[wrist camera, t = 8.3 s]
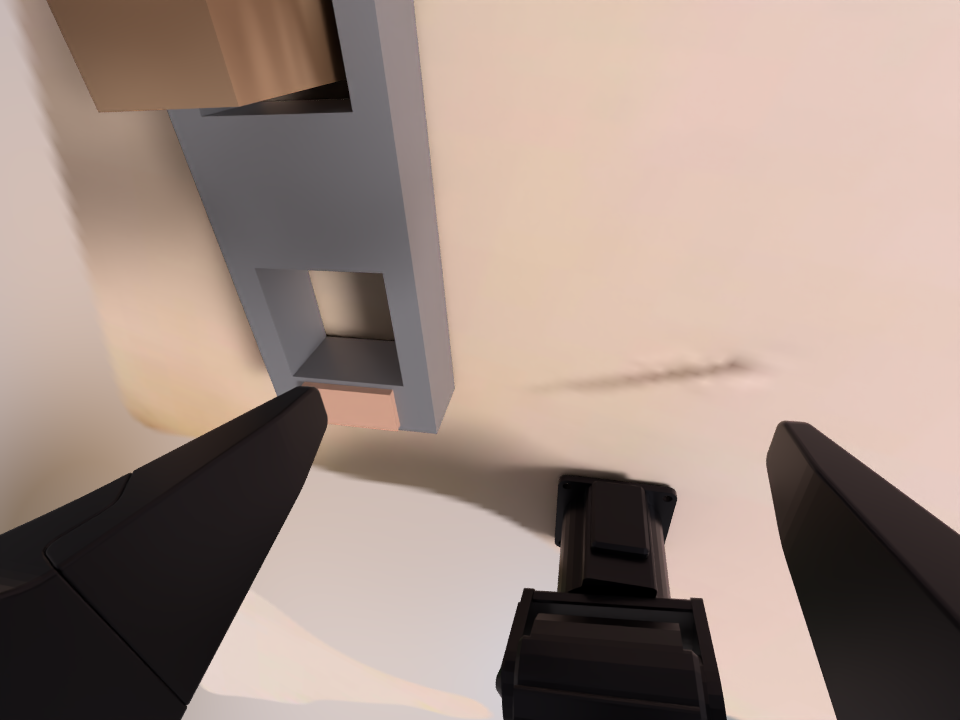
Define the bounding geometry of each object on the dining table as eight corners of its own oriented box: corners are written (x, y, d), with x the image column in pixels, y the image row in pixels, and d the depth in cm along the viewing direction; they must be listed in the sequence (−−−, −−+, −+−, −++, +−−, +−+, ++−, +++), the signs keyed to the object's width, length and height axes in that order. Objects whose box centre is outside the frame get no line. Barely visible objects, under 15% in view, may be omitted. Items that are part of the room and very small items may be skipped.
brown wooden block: (370, 72, 18) (239, 106, 11) (272, 78, 18) (98, 112, 12) (346, -73, 15) (163, -135, 9) (236, -60, 16) (-4, -109, 10)
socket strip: (454, 388, 25) (434, 440, 22) (317, 376, 27) (281, 422, 24) (386, -254, 13) (317, -340, 10) (135, -208, 14) (8, -268, 11)
